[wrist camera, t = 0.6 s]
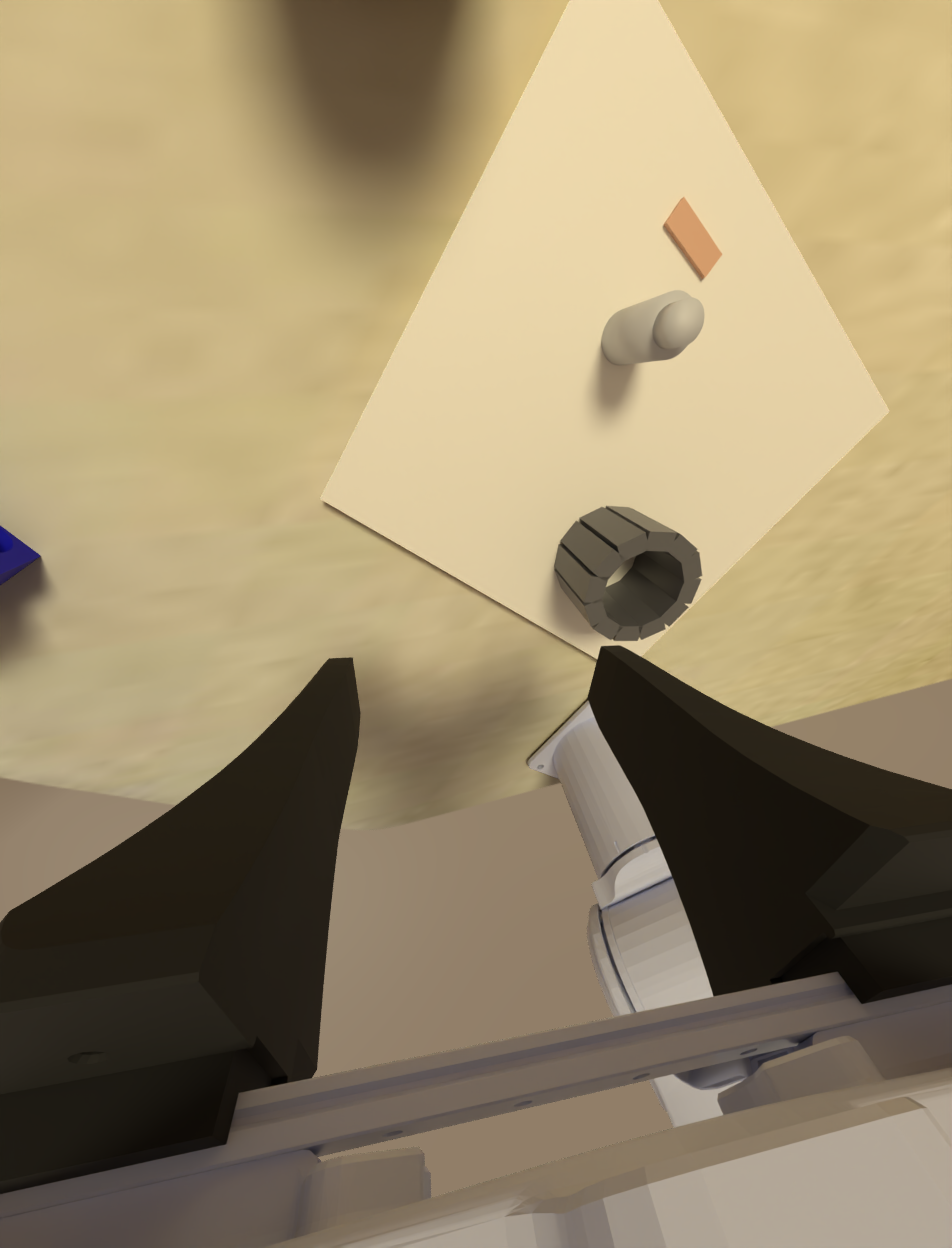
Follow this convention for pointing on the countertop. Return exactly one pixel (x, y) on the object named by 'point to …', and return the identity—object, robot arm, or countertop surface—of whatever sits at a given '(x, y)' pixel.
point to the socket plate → (535, 329)
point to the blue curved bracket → (13, 555)
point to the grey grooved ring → (645, 590)
